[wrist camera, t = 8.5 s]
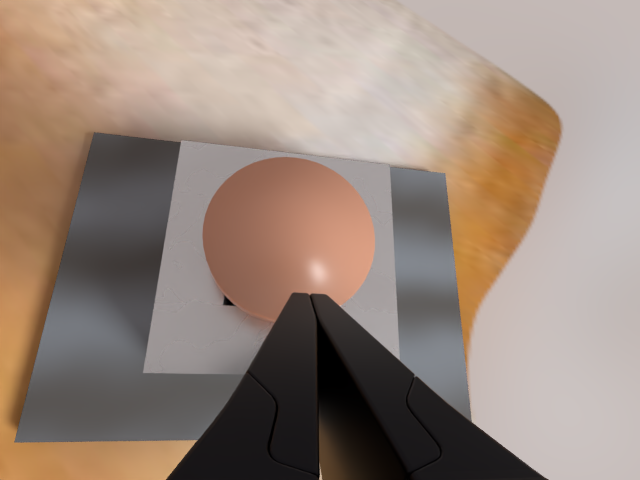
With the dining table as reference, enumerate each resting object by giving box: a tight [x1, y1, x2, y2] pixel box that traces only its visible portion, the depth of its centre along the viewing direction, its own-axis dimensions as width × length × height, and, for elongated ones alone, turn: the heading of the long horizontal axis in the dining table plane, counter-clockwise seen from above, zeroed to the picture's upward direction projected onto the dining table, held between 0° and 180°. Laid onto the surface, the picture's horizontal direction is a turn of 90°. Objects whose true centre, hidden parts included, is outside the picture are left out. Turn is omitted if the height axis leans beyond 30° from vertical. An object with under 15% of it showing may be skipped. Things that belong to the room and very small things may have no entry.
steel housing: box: [143, 140, 400, 375], centre depth 18 cm, size 10×10×5 cm
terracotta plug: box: [202, 157, 375, 323], centre depth 17 cm, size 6×6×7 cm
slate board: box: [15, 132, 472, 442], centre depth 21 cm, size 16×22×1 cm
